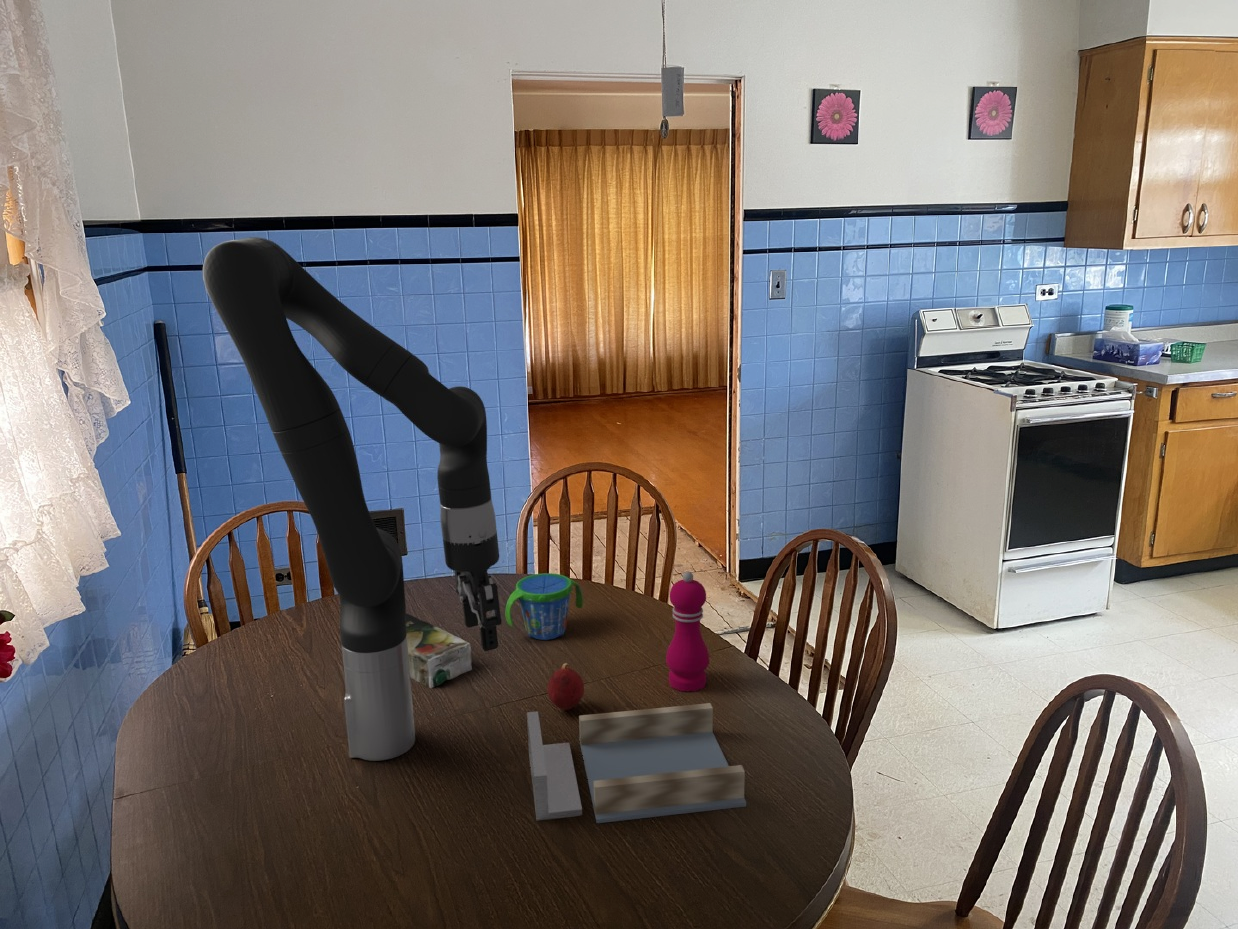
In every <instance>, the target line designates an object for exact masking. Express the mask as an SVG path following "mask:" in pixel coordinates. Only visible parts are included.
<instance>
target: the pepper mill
mask: <svg viewBox="0 0 1238 929" xmlns="http://www.w3.org/2000/svg"><path fill="white" fill-rule="evenodd" d="M669 601H670V603H671V605H672V606H673V607H672V618H673V619H674V620H675V621H674V622H675V631H674V633H673V634H674V635H673V638H672V640H671V642H670V644H669V646H668V648H667V651H666V658H665V663H666V666H667V667H668V668H669V673H668V683H669V686H670V687H671V688H672V689H674V688H675V689H674V690H676V689H677V690H676V691H679V690H680V692H684V691H687V693H688V692H689V691H692V692H697V691H700V690H702V689H704V687H705V686H706V684H707V672H706V671H705V670H706V669H708V667H709V665H710V655H709V650H708V647H707V646H706V642H705V641H704V639H703V637H702V632H701V620H702V619H703V618H704V614H703V612H704V609H703V606H704V605H705V603H706V601H707V591H706V589H705V587H704V586H703V584H702V583H701V582H700V581H698V580H695V579H694V574H693V573H692V572H690V571H685V572H684V573H683V574H682V579H679V580H678V581H676V582H675V583H674V584H673V585H672V586H671V588H670V591H669ZM699 689H700V690H699ZM696 690H697V691H696ZM689 693H690V692H689Z"/></svg>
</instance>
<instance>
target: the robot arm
mask: <svg viewBox="0 0 1238 929" xmlns="http://www.w3.org/2000/svg"><path fill="white" fill-rule="evenodd" d="M202 280H203V283H204V287H205V290H206V293H207V295H208V297H209V299H210V301H211V303H212V305H213V307H214V309H215V311H216V313H217V314H218V316H219V318H220V320H221V322H222V324H223V325H224V327H225V329H226V331H227V332H228V334H229V337H230V338H231V340H232V341H233V344H234V345H235V347H236V349H237V351H238V353H239V355H240V357H241V359H242V361H243V365H244V366H245V368H246V371H247V374H248V375H249V378H250V381H251V383H252V386H253V388H254V391H255V393H256V396H257V397H258V399H259V401H260V404H261V407H262V409H263V411H264V414H265V417H266V419H267V422H268V424H269V427H270V430H271V432H272V435H273V437H274V440H275V442H276V444H277V447H278V449H279V452H280V453H281V457H282V458H283V460H284V462H285V464H286V467H287V468H288V471H289V473H290V475H291V478H292V480H293V483H294V484H295V487H296V488H297V491H298V492H299V495H300V497H301V499H302V501H303V503H304V506H305V507H306V509H307V510H308V514H309V515H310V517H311V520H312V521H313V524H314V527H315V530H316V532H317V536H318V540H319V542H320V545H321V548H322V552H323V555H324V559H325V562H326V565H327V566H326V567H327V569H328V570H327V571H328V573H329V577H330V579H331V583H332V585H333V588H334V589H335V591H336V592H337V594H338V595H339V603H340V604H339V605H340V607H339V608H340V610H339V611H340V612H339V613H340V614H339V617H340V618H339V636H340V643H341V644H340V645H341V652H342V664H343V673H344V682H345V694H344V698H343V703H344V704H343V705H344V714H345V722H346V733H347V734H346V735H347V740H348V741H347V742H348V743H347V744H348V754H349V758H350V759H352V758H353V759H354V758H359V759H362V760H365V761H370V762H371V761H373V762H376V761H377V762H378V761H386V760H390V759H394V758H397V757H400V756H401V755H403V754H405V753H407V752H408V751H409V750H410V749H411V748H412V747H413V746H414V745H415V742H416V732H415V728H416V727H415V719H414V707H413V694H412V681H411V677H410V668H409V656H408V644H407V632H406V614H407V613H406V612H407V607H406V594H405V592H406V591H405V578H404V563H403V556H402V555H403V554H402V551H401V547H400V545H399V544H398V542H397V540H396V539H395V538H394V536H393V535H391V534H390V533H389V532H387V531H386V530H383V529H381V528H378V527H377V526H376V525H375V522H374V520H373V518H372V516H371V513H370V510H369V508H368V506H367V502H366V499H365V495H364V490H363V485H362V479H361V478H362V477H361V473H360V468H359V463H358V459H357V458H358V457H357V455H356V450H355V445H354V442H353V438H352V436H351V433H350V429H349V427H348V424H347V422H346V419H345V416H344V414H343V412H342V410H341V409H342V408H341V406H340V404H339V401H338V399H337V398H336V396H335V394H334V392H333V390H332V389H331V387H330V386H329V385H328V383H327V381H326V380H324V378H323V376H321V374H320V373H319V372H318V371H317V369H316V368H315V366H314V365H313V364H312V363H311V361H309V359H308V358H307V357H306V356H305V354H304V353H303V351H302V350H301V348H300V347H299V345H298V344H297V342H296V340H295V337H294V335H293V333H292V331H291V327H290V325H289V323H288V321H289V320H290V321H291V322H292V323H294V324H296V325H297V326H298V327H300V328H302V329H303V330H305V331H306V332H307V333H308V334H309V335H311V336H312V338H314V339H315V340H316V341H317V342H318V343H319V344H320V345H321V346H322V347H323V348H324V349H325V350H326V352H328V354H329V355H330V356H331V357H332V358H333V359H334V361H336V363H338V365H339V366H341V368H343V370H345V372H347V373H348V374H349V375H350V376H352V377H353V378H354V379H356V381H358V382H359V383H361V384H362V385H364V386H365V387H366V388H368V389H369V390H371V391H373V392H374V393H375V394H377V395H378V396H380V397H381V398H382V399H384V400H386V401H387V402H389V403H391V404H392V405H393V406H394V407H396V408H397V409H398V410H399V411H400V412H401V414H402V415H403V416H405V417H406V418H407V419H408V421H410V422H411V423H412V424H413V425H414V426H415V427H416V428H417V429H418V430H420V432H422V433H423V434H424V435H426V436H427V437H428V438H429V439H432V440H433V441H434V442H436V443H438V444H439V453H440V456H439V457H440V458H439V463H438V467H437V475H436V476H437V486H438V489H437V490H438V496H439V503H440V506H439V507H440V527H441V528H440V529H441V536H442V545H443V551H444V560H445V565H446V567H447V568H448V569H449V570H451V571H454V572H453V574H454V580H455V581H454V582H455V592H456V594H457V596H459V602H460V603H461V604H462V612H463V620H464V625H465V626H466V627H467V628H468V629H469V628H472V627H479V637H480V643H481V645H480V646H481V649H482V650H483V651H484V652H489V651H492V650H496V649H497V648H498V647H499V641H498V630H497V626H501V625H502V623H503V621H502V617H501V616H502V615H501V608H500V600H499V593H498V592H499V591H498V585H497V584H496V582H493V579H492V578H493V577H492V575H489V572H488V570H489V569H490V568H491V567H492V566H495V565H496V564H497V563H498V562H499V560H500V548H499V540H498V530H497V520H496V512H495V508H494V505H493V504H494V503H493V501H492V500H493V499H492V491H491V481H490V473H489V469H488V460H487V458H488V457H487V456H488V423H487V422H488V421H487V420H488V419H487V412H486V407H485V404H484V401H483V399H482V398H481V396H480V395H479V394H478V393H477V392H476V391H474V390H473V389H471V388H468V387H466V386H453V387H450V388H449V387H447V386H445V385H444V384H443V383H442V382H440V381H439V380H438V379H437V378H436V377H434V376H433V375H432V374H431V373H430V371H429V368H428V366H427V364H426V363H424V361H423V360H421V359H420V358H419V357H418V356H416V355H415V354H413V353H412V352H410V351H409V350H408V349H406V348H405V347H403V346H402V345H401V344H399V343H398V342H396V341H394V340H393V339H392V338H390V337H389V336H387V335H386V334H384V333H383V332H381V331H380V330H378V329H377V328H376V327H375V326H373V325H372V324H370V323H369V322H367V321H366V320H365V319H363V318H362V317H361V316H360V315H358V314H356V313H355V312H354V311H353V310H352V309H350V308H349V307H348V306H347V305H345V304H344V303H343V302H342V301H341V300H340V299H338V298H337V297H336V296H334V295H333V294H332V293H331V292H330V291H329V290H327V288H326V287H324V286H323V285H322V284H321V283H319V282H318V281H317V280H316V278H314V276H313V275H311V274H310V273H309V272H308V271H307V270H306V269H305V268H304V267H303V266H302V265H301V264H300V263H298V262H297V261H296V259H294V258H293V256H292V255H290V254H289V253H288V252H287V251H286V250H285V249H284V248H282V247H281V246H280V245H279V244H278V243H275V242H274V241H272V240H270V239H267V238H264V237H258V236H254V237H252V236H250V237H249V236H248V237H244V238H239V239H233V240H231V239H230V240H227V241H222V242H220V243H218V244H216V245H214V246H213V247H211V248H210V249H209V250H208V252H207V254H206V256H205V258H204V260H203V265H202ZM488 612H489V613H490V616H488V615H487V613H488Z"/></svg>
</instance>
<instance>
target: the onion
mask: <svg viewBox="0 0 1238 929" xmlns="http://www.w3.org/2000/svg"><path fill="white" fill-rule="evenodd" d="M570 666H571V665H570V663H568V662H564V663H563V664H562V666H561V667H560V669H558V670H557V671H555V672H554V673H553V674H552V676H551V677H550V678H549V680H548V684H547V695H548V698H549V700H550V701H551V703H552V704H553V705H555V707H556V708H559V709H561V710H564V711H570V710H571V709H572V708H574V707H575V706H576V705H577V704H579V702H580V701H581V700H582V698H583V696H584V695H585V694H584V693H585V685H584V681H583V679H582V676H581V675H580V674H579V673H578V672H577V671H575V670H574V669H571V668H570Z"/></svg>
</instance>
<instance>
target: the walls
mask: <svg viewBox="0 0 1238 929" xmlns="http://www.w3.org/2000/svg"><path fill="white" fill-rule="evenodd" d="M713 712H714V707H713V706H712V703H710V702H707V703H698V704H687V705H677V706H666V707H665V706H664V707H657V708H644V709H634V710H624V711H614V712H602V713H593V714H583V715H579V716H578V721H579V723H578V725H579V726H578V727H579V729H578V730H579V736H580V742H579V744H580V743H581V745H587V744H597V743H607V742H617V741H627V740H637V739H647V738H657V737H667V736H677V735H687V734H696V733H706V732H713V729H714V728H713V725H714V724H713V723H714V722H713V718H714V717H713V716H714V713H713ZM713 733H714V732H713ZM745 773H746V771H745V770H744V767H743V765H742V764H738V765H737V764H736V765H729V766H727V767H718V768H709V769H699V770H690V771H681V772H671V773H662V774H653V775H643V776H634V777H625V778H615V779H606V780H597V781H593V785H594V808H593V811H594V810H595V813H594V815H595V814H605V813H614V812H623V811H631V810H640V809H649V808H658V807H667V806H676V805H685V804H694V803H702V802H711V801H720V800H729V799H738V798H744V799H745V778H746V777H745V775H746V774H745Z"/></svg>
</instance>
